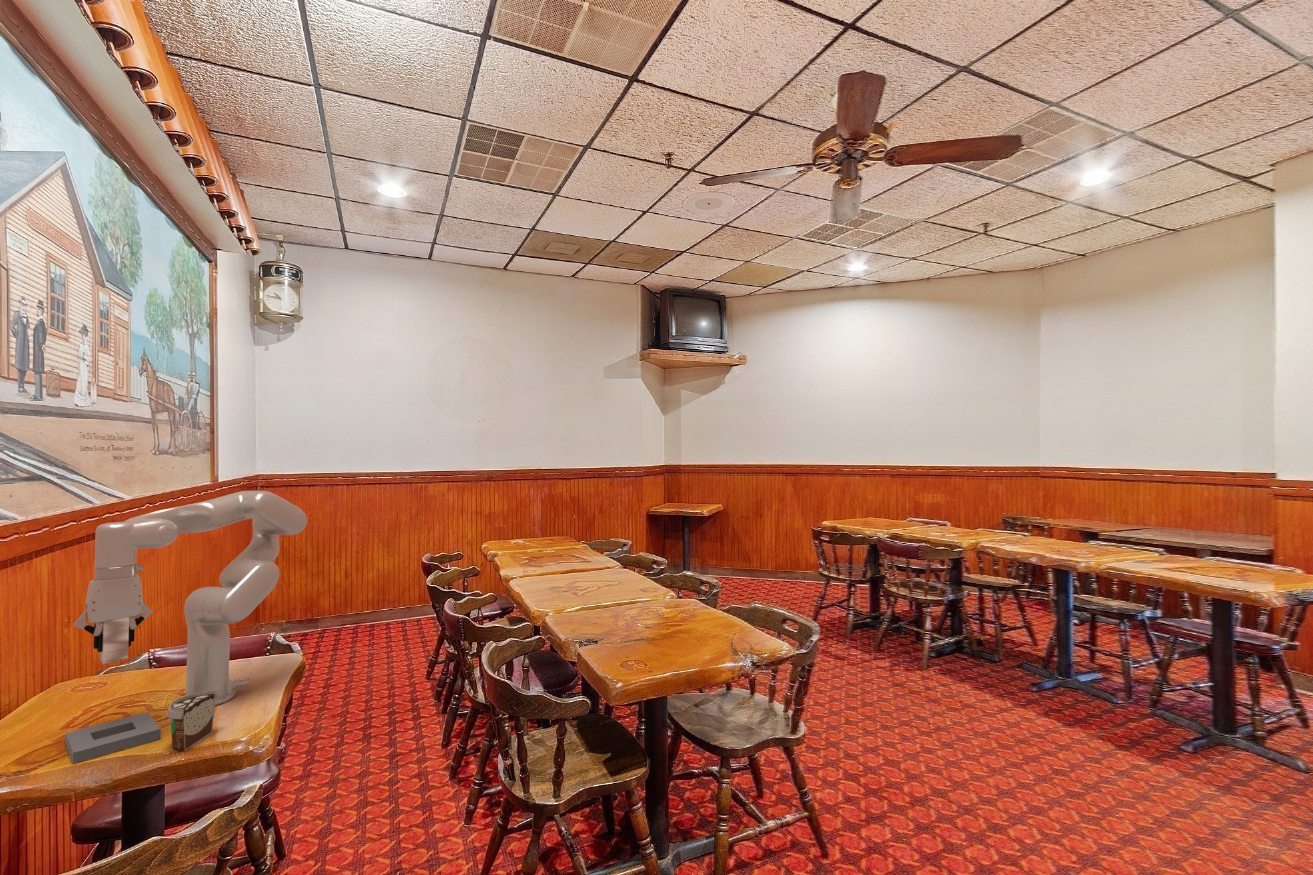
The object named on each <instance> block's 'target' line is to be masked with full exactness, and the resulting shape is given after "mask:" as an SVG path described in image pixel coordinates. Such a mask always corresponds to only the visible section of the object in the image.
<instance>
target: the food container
mask: <svg viewBox="0 0 1313 875" xmlns="http://www.w3.org/2000/svg"><path fill="white" fill-rule="evenodd" d="M215 698H217V692H216V690H211V691H203V692H198V693H194V694H190V695H187V696H186V695H184V696H181V697H179V698H177V699H175V700H174V701H172V702H171V703H170V705H169V707H168V708H167V712H166V717H167V718H169V719H170V727H171V728H170V730H171V744H172V749H173V751H176V752H186V751H187V750H189V749H190V748H192V747H193V746H195V745H196V744H198V743H199V742H201V741H202V740H203V739H205V738H207V737H208V736H209V735H212V734H213V729H214V728H213V727H214V717H215V708H216V707H215V706H216V705H215ZM206 736H207V737H206Z"/></svg>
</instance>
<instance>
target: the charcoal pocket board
mask: <svg viewBox="0 0 1313 875" xmlns="http://www.w3.org/2000/svg"><path fill="white" fill-rule="evenodd" d="M161 732H162V728H161V727H160V725H159V724H158V723H157V722H156V721H155V719H154V718H153V717H152V715H151V714H150V713H149V711H147V712H142V713H139V714H134V715H130V716H127V717H124V718H119V719H115V720H112V721H108V722H103V723H100V724H95V725H92V726H87V727H84V728H80V729H75V730H72V731H68V732H65V737H64V739H65V741H64V743H65V747H66V749H67V750H66V751H68V752H67V753H68V754H69V757H70V760H71V763H72V765H75V764H79V763H82V762H86V761H89V760H93V759H96V758H100V757H103V755H104V756H107V755H110V753H111V754H113V753H112V752H114V753H116V751H118V750H121V751H123V749H125V750H127V749H126V748H128V749H131V747H132V748H135V747H139V746H142V745H146V744H148V743H152V742H155V741H159V740H161V736H162V733H161ZM134 746H135V747H134ZM118 752H119V751H118ZM106 754H107V755H106ZM99 756H100V757H99ZM92 758H93V759H92ZM85 760H86V761H85ZM78 762H79V763H78Z"/></svg>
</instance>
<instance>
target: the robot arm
mask: <svg viewBox="0 0 1313 875" xmlns="http://www.w3.org/2000/svg"><path fill="white" fill-rule="evenodd" d="M245 520H252V522H251V525H252V538H251V541H250V543H249V544H248V546H246V548H245V549H244V550H242V551H241V553H239V555H237V556H236V557H235V558H234V559H233V560H232V561H231V562H230V563H229V564H227V566H225V567H224V569H222V571H221V573H220V575H219V578H218V580H219V584H220V585H221V586H222V587H221V586H205V587H200V588H197V589H195V590H194V591H192V592H191V593H190V594H189V595H188V596H187V598H186V600H185V601H184V604H183V612H184V618H185V619H184V620H185V623H186V628H187V629H186V630H187V645H186V646H187V647H186V678H185V679H186V681H185V684H186V685H185V696H187V695H190V694H194V693H198V692H203V691H211V690H216V692H217V698H215V706H216V705H221V704H223V703H227V702H228V701H230V700H232V699H233V698H234V697H235V695H236V689H237V688H239V687H240V688H242V687H246V686H248V685H249V684H250V682H249V678H243V679H241V678H237V679H232V680H231V679H230V648H231V647H230V646H231V634H230V627H229V625H230V624H237V623H239V622H241V621H243V620H244V619H246V618H247V617H248V616H250V614H251V613H253V611H255V609H257V607H258V606H259V605H260V604H261V603H262V602H263V601H264V600H265V598H266V597H267V596H268V595H269V594H270V593H271V592H272V591H273V590H274V588H275V587H276V586H277V584H278V581H279V577H280V568H279V566H278V565H277V564H276V563H275V562H274V561H275V560H276V559H277V557H278V556H279V553H280V539H279V538H280V537H279V536H294V535H297V534H299V533H302V532H303V531H304V529H305V528H306V526H307V524H308V517H307V515H306V512H304V510H302V509H301V508H300V507H298V506H296V505H294V504H293V503H291V502H290V501H288V500H286V499H285V498H284V497H281V496H279V495H277V494H275V493H274V492H271V491H267V490H241V491H237V492H233V493H230V494H226V495H222V496H219V497H215V498H210V499H207V500H204V501H200V502H199V501H198V502H195V503H189V504H185V505H180V506H175V507H170V508H166V509H160V510H156V511H151V512H149V513H145V514H140V515H136V516H134V517H130V518H127V520H124V521H117V522H106V523H102V524H100V525H98V526H97V527H96V529H95V534H94V535H95V540H94V541H95V542H94V543H95V544H94V576H93V577H94V578H93V579H92V580H90V581H89V583H88V587H87V591H86V595H85V596H86V597H85V606H84V611H83V612H82V613H81V615H79V617H78V618H77V619H76V620H75V621H74V623H72V624H73V627H75V628H78V629H81V630H82V631H83V630H84V631H86V632H88V633H89V634H91V635H93V645H92V646H93V649H94V650H95V649H96V651H97V653H100V652H102V651H103V635H102V632H101V630H102V627H103V622H104V621H110V620H116V619H122V618H128V617H129V642H128V648H129V647H132V642H133V643H134V642H135V631H136V630H135V629H137V627H139V625H140V624H141V623H142V622H143V621H144V620H146V619H148V617H150V616H151V615H152V614H154V611H153V610H152V609H151V607H149V606H148V605H147V604H145V603H144V599H143V597H144V595H143V587H142V581H141V578H140V575H138V573H139V572H143V571H144V570H145V566H144V564H143V565H142V564H141V565H140V564H139V565H138V564H137V558H138V557H137V556H138V555H137V554H138V552H137V551H138V550H139V549H159V548H164V547H167V546H169V545H171V544H173V543H174V542H175V541H176V539H177V538H178V536H179V535H180V534H195V533H196V534H197V533H205V532H209V531H214V530H217V529H220V528H223V527H227V526H229V525H233V524H235V523H238V522H241V521H245ZM86 621H87V622H88V623H90V624H88V623H85V622H86ZM91 624H93V626H92V625H91Z"/></svg>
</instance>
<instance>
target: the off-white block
mask: <svg viewBox="0 0 1313 875" xmlns="http://www.w3.org/2000/svg"><path fill="white" fill-rule="evenodd" d="M101 632H102V635H103V651H102V652H99V661H100V663H101V664H102V665H104V664H110V663H115V662H119V661H124V660H128V659H129V647H128V642H129V617H128V618H122V619H116V620H110V621H104V622H103V627H102V630H101Z"/></svg>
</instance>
